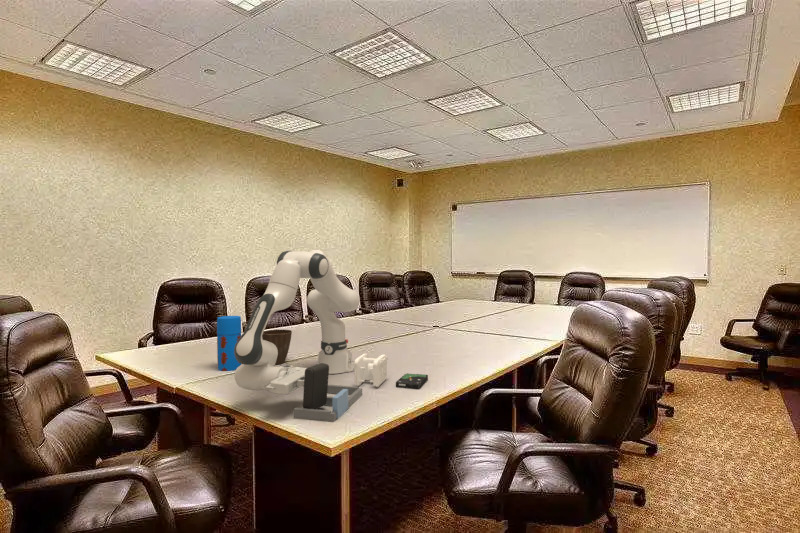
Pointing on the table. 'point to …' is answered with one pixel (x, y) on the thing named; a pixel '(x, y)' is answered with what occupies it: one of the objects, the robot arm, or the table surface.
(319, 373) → the card reader
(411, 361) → the table surface
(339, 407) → the comb rack
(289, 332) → the plant pot
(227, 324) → the thermos
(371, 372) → the cable organizer
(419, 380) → the disk drive
